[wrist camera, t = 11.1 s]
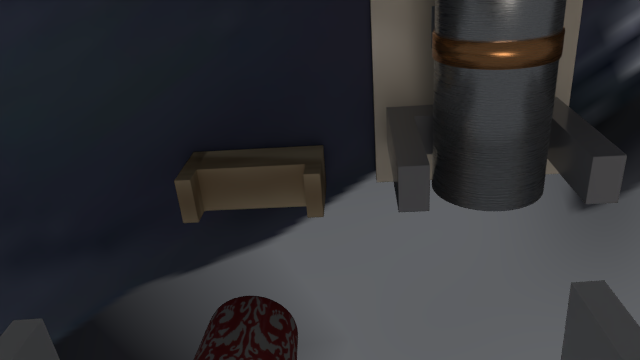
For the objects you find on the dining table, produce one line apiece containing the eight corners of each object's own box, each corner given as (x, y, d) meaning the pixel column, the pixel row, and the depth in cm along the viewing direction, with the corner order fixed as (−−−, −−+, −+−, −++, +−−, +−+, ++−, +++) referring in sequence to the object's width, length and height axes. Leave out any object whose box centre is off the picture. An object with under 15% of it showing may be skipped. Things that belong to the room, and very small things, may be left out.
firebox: (554, 167, 35) (623, 250, 26) (376, 175, 36) (385, 258, 27) (606, -238, 26) (743, -323, 17) (362, -212, 27) (369, -280, 18)
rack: (326, 184, 37) (323, 216, 33) (201, 190, 38) (183, 222, 34) (301, -127, 29) (293, -135, 25) (141, -112, 29) (108, -117, 25)
